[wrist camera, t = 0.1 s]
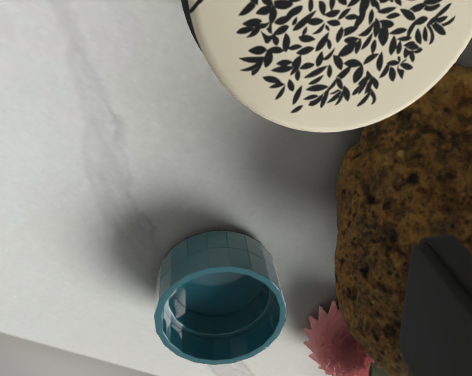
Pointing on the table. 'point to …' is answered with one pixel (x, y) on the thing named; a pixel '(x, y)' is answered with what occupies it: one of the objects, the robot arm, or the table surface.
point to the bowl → (218, 298)
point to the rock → (401, 208)
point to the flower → (336, 345)
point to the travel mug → (329, 55)
